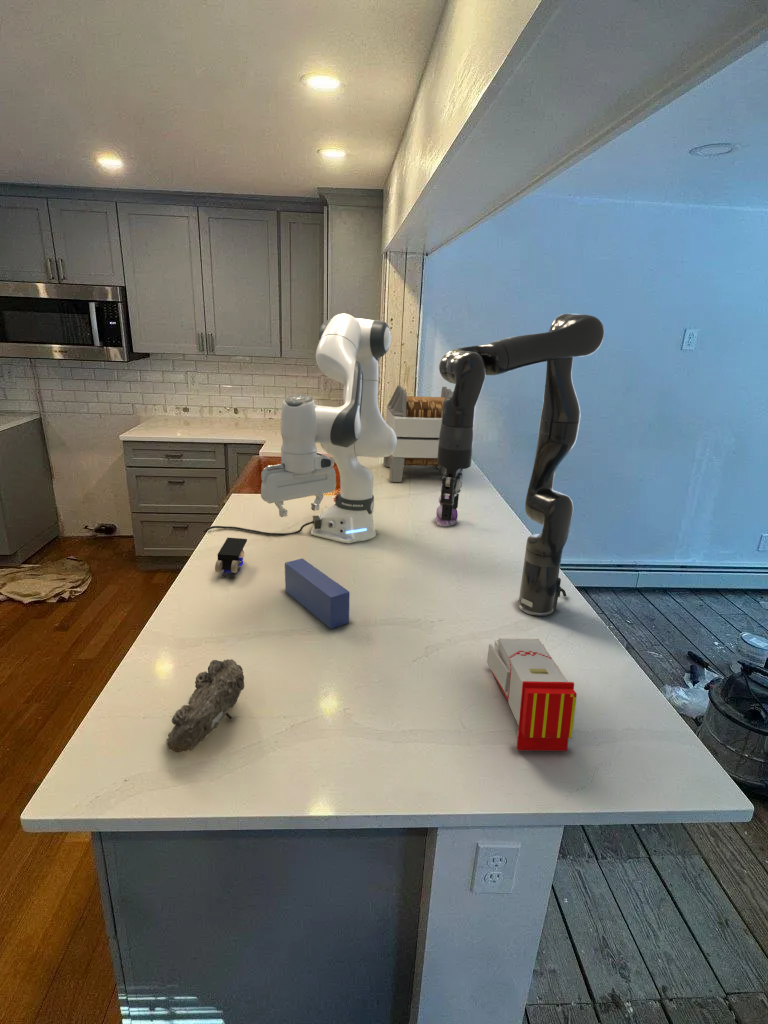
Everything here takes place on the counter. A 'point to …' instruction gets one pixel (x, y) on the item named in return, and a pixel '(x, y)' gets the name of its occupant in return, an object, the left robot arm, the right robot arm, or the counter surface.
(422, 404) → the transformer
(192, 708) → the fossil
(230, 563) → the figurine character
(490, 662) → the toy
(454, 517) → the figurine
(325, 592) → the block
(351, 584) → the counter surface
